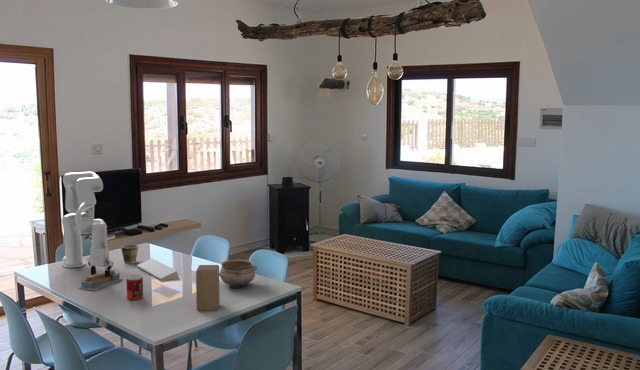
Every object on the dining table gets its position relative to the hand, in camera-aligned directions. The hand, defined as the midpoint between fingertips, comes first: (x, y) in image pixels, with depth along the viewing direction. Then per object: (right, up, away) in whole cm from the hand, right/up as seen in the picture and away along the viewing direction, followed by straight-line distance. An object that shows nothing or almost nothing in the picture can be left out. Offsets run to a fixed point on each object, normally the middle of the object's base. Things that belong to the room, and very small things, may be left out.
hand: (100, 275), depth 303 cm
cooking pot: (+74, -6, +1) cm, 74 cm away
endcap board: (0, -5, 0) cm, 4 cm away
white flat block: (+24, -3, +23) cm, 33 cm away
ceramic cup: (0, +1, +45) cm, 45 cm away
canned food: (+26, -8, -22) cm, 35 cm away
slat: (0, -4, 0) cm, 4 cm away
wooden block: (+65, -10, -34) cm, 74 cm away
